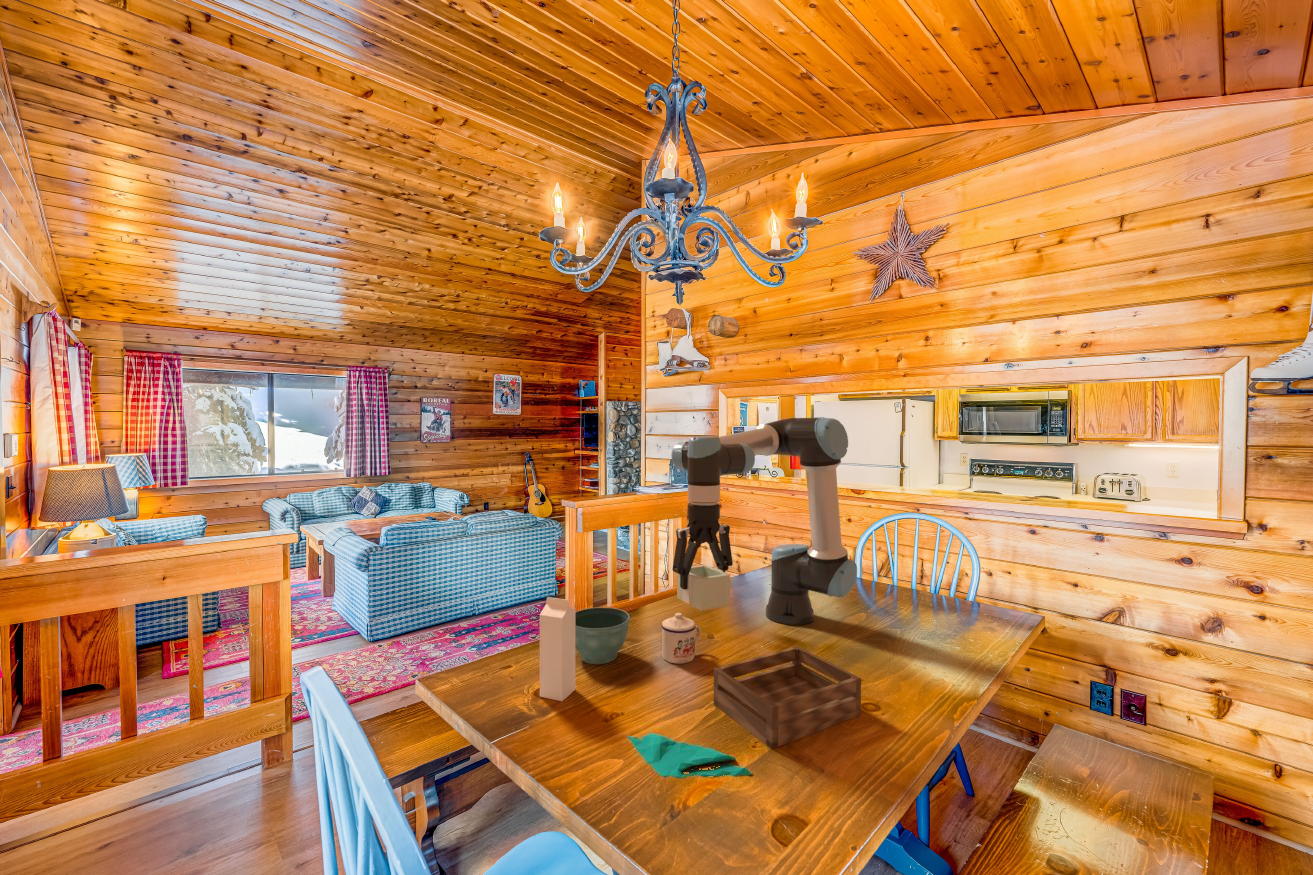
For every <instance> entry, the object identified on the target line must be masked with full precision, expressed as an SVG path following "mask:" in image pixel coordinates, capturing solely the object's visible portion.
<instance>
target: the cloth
mask: <svg viewBox="0 0 1313 875" xmlns="http://www.w3.org/2000/svg"><path fill="white" fill-rule="evenodd" d="M626 737H627V739H628V740H629V741H630V743H631V744H632V745H633V746H634V749H635V750H636V751H637V752H638V754H639V755H640V756H641V757H642V758H643V760H644V761H645V762H646V763H647V764H649V765H650V766H651V767H652V769H653V770H654V772H656V773H657V774H658V775H660V776H661V777H663V778H667V777H671V778H675V779H677V778H678V779H685V778H684V777H687V776H694V775H699V776H703V777H702V778H709V777H708V776H713V777H712V778H715V777H718V776H722V777H727V775H728V776H730V777H734V776H735V777H736V776H743V775H744V776H751V775H755V773H752V772H751V771H750V770H749V769H748V768H747V767H744V766H736V765H734V764H730V763H728V762H727V761H729V762H731V761H734V762H736V761H737V758H736V757H734V756H732V755H729V754H726V753H723V752H721V751H718V750H715V749H713V748H712V747H704V746H702V745H699V744H698V745H697V744H691V743H687V742H682V741H680V742H678V741H675V740H674V739H672V738H669V737H667V736H664V735H661V734H658V733H653V732H651V733H648V734H646V735H644V736H641V738H639V737H634V736H631V735H626ZM724 761H725V762H724ZM721 762H723V763H721ZM715 763H720V764H716V765H714V766H715V767H711V769H713V768H714V770H710V769H709V768H708V770H702V769H701V770H699V768H700V766H707V765H712V764H715ZM697 766H699V767H697ZM718 766H720V767H718ZM691 767H693V768H692V769H693V770H691V769H689V768H691ZM695 767H697V768H695ZM716 767H718V768H716ZM688 769H689V770H688ZM683 772H689V774H684V773H683ZM723 775H724V776H723ZM725 775H726V776H725ZM704 776H706V777H704ZM714 776H715V777H714Z"/></svg>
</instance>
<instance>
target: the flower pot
mask: <svg viewBox="0 0 1313 875" xmlns="http://www.w3.org/2000/svg"><path fill="white" fill-rule="evenodd" d="M629 623H630V614H629V612H627V611H625V610H623V609H620V608H615V607H608V606H607V607H605V606H603V607H597V606H596V607H588V608H584V609H579V610H577V611H575V650H576V651H577V652H578V654H579V655H580V659H581V660H582V661H583V662H584V663H587V664H590V665H603V664H604V665H605V664H609V663H611V662H613V661H615V659H617V657H618V653H619V652H620V650H621V649H622V648H623V646H624V644H625V641H626V639H627V635H628V631H629Z"/></svg>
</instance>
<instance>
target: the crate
mask: <svg viewBox="0 0 1313 875" xmlns="http://www.w3.org/2000/svg"><path fill="white" fill-rule="evenodd" d="M787 663H790V664H787ZM783 664H786V665H783ZM803 664H804V665H803ZM780 665H781V666H780ZM805 665H806V666H805ZM776 666H780V667H776ZM807 666H808V667H809V668H808V667H807ZM774 667H776V668H774ZM771 668H772V669H771ZM811 668H812V669H814V670H815V671H814V670H812V669H811ZM767 669H769V670H767ZM763 670H764V671H763ZM760 671H762V672H760ZM816 671H817V672H816ZM755 672H759V673H756V674H755ZM818 672H819V673H818ZM752 673H754V674H752ZM820 673H821V674H820ZM749 674H750V675H749ZM751 674H752V675H751ZM822 674H823V675H824V676H823V675H822ZM745 675H749V676H745ZM742 676H745V677H742ZM825 676H826V677H825ZM739 677H740V678H739ZM741 677H742V678H741ZM827 677H829V678H830V679H829V678H827ZM735 678H738V679H735ZM831 679H833V680H834V681H836V682H834V681H833V680H831ZM713 705H714V706H715V707H716V708H718V709H719V710H721V712H723V713H724V714H725V715H727V716H728V717H730V718H731V719H732V720H734V722H736V723H737V724H739V725H740V726H741V727H742V728H744V729H745V730H746V731H747V732H749V733H750V734H751V735H753V736H754V737H755V738H756V739H758V740H759V741H761V742H762V743H763V744H764V745H765V746H767V747H768V748H769V749H770V750H774V749H776V748H779V747H781V746H784V745H786V744H788V743H792V742H795V741H796V740H799V739H801V738H805V737H807V736H809V735H812V734H815V733H818V732H821V731H823V730H825V729H828V728H831V727H834V726H836V725H839V724H841V723H844V722H846V721H848V720H852V719H854V718H856V717H859V716H861V713H862V711H861V710H862V709H861V708H862V707H861V706H862V677H860V676H858V675H856V674H854V673H852V672H849V671H848V670H846V669H844V668H841V667H840V666H837V665H835V664H834V663H832V662H829V661H828V660H826V659H824V658H822V657H819V656H818V655H816V654H814V653H812V652H810V651H808V650H806V649H803V648H802V647H800V646H797V645H795V646H793V647H788V648H785V649H780V650H778V651H775V652H774V651H773V652H770V653H767V654H763V655H759V656H756V657H751V658H748V659H744V660H741V661H736V662H734V663H730V664H726V665H721V666H719V667H714V668H713Z"/></svg>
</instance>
